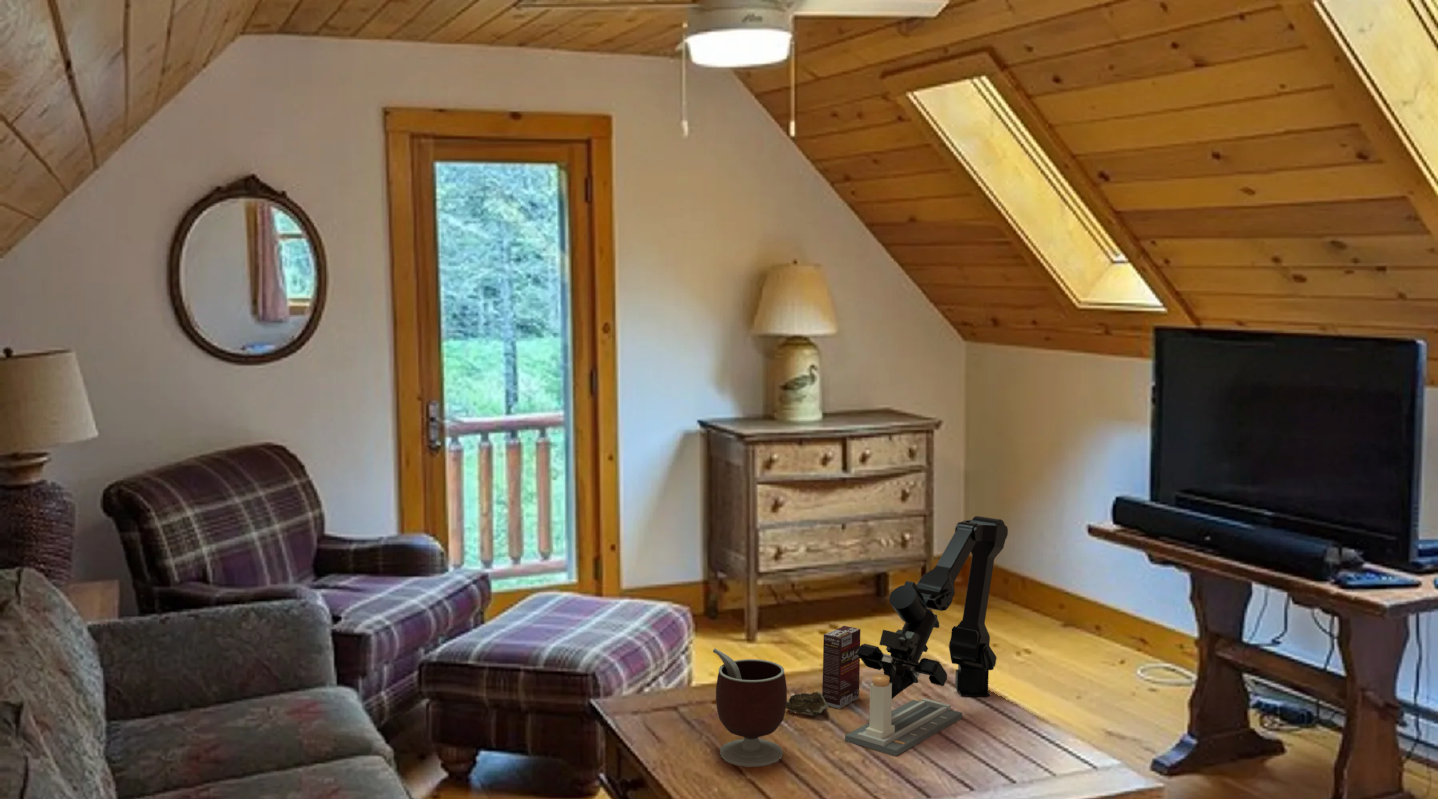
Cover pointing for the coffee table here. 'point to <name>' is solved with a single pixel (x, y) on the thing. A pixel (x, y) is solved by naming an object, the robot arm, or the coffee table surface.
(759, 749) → the mate gourd
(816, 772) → the coffee table surface
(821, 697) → the rock sample
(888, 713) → the fader knob
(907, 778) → the coffee table surface
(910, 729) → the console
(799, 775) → the coffee table surface
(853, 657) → the supplement box
